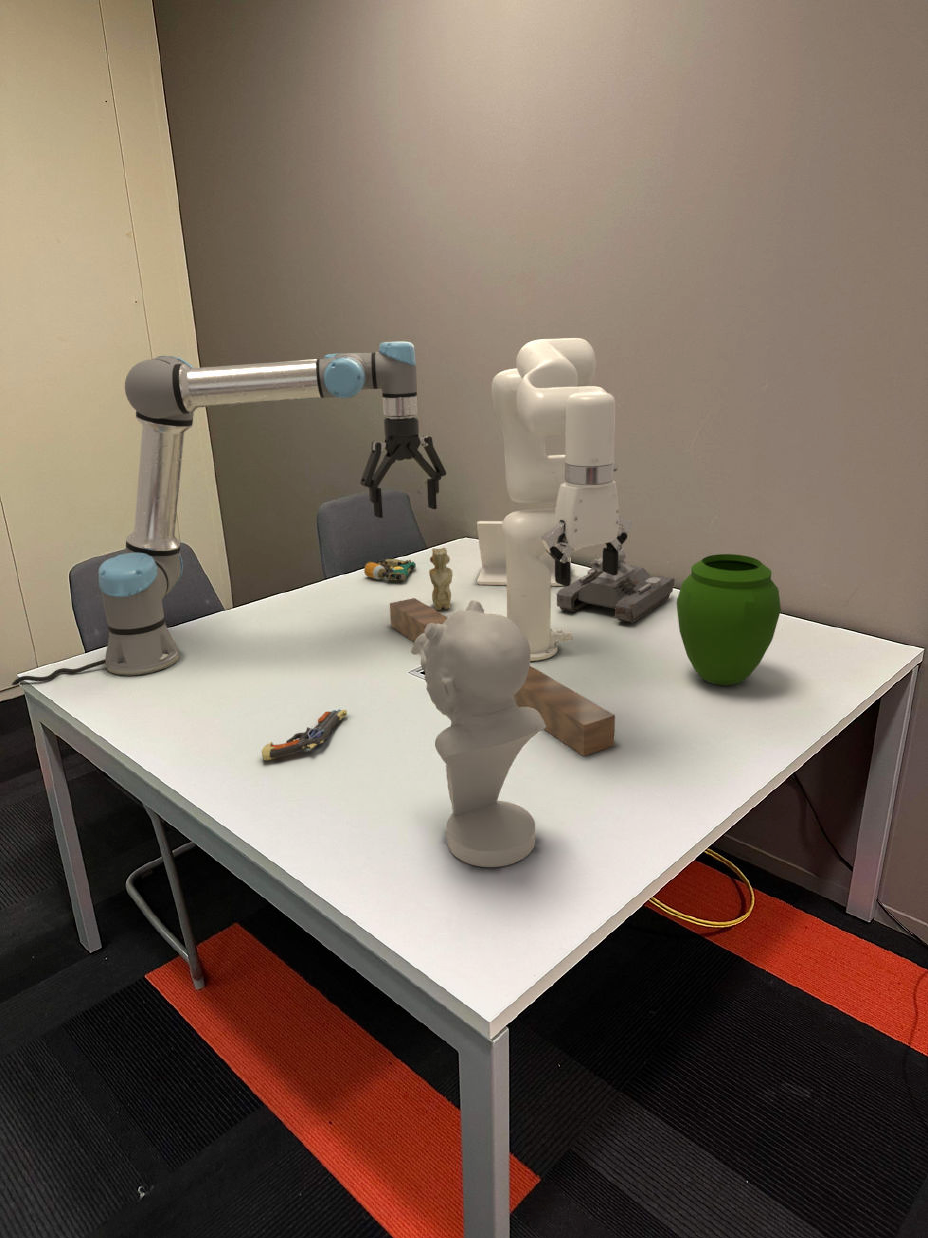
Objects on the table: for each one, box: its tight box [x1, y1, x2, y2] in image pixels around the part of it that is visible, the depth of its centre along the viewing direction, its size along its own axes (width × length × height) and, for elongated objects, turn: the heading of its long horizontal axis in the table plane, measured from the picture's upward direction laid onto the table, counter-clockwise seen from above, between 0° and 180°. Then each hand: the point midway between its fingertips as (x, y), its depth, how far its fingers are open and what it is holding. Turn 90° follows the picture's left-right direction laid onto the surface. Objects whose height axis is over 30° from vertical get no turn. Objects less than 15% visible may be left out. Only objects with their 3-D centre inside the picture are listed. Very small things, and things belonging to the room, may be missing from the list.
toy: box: [556, 548, 676, 624], centre depth 212 cm, size 25×20×15 cm
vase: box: [676, 553, 782, 686], centre depth 168 cm, size 20×20×24 cm
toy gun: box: [261, 708, 348, 761], centre depth 153 cm, size 3×19×10 cm
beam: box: [389, 597, 616, 757], centre depth 175 cm, size 74×7×6 cm, turn 31°
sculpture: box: [428, 547, 453, 611], centre depth 214 cm, size 6×7×15 cm
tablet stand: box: [476, 520, 572, 587], centre depth 236 cm, size 18×25×17 cm
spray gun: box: [363, 558, 417, 582], centre depth 242 cm, size 4×17×15 cm
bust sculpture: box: [410, 599, 546, 868], centre depth 121 cm, size 16×24×35 cm
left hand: (406, 512), depth 193 cm, fingers open, 13 cm apart
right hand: (586, 578), depth 139 cm, fingers open, 9 cm apart
